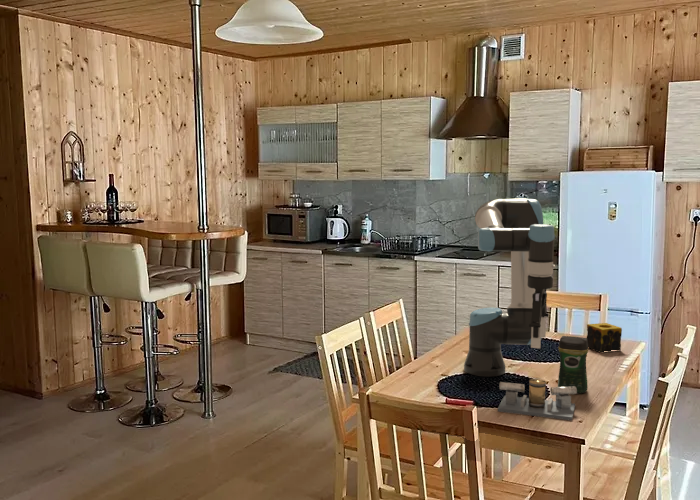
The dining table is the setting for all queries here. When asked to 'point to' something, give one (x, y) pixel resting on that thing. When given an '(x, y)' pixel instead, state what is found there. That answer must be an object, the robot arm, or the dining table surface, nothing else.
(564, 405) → the shaft right
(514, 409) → the grey mounting plate
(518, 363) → the dining table surface
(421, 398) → the dining table surface
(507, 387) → the shaft left
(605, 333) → the candle
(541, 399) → the cylinder
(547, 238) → the robot arm
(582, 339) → the coffee jar
